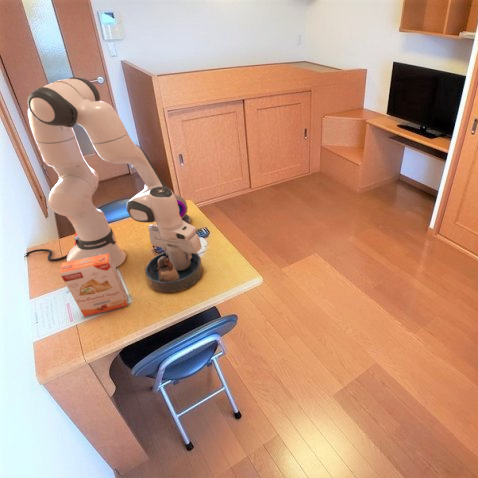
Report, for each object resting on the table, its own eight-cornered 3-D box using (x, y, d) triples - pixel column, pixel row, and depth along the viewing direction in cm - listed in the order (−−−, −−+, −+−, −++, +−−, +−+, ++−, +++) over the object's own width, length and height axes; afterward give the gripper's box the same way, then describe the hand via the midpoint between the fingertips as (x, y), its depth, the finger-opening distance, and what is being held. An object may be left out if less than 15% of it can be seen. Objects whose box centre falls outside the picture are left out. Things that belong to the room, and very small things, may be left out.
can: (185, 273, 139) (179, 249, 132) (168, 270, 140) (160, 246, 133) (194, 261, 145) (188, 237, 138) (178, 258, 146) (171, 235, 139)
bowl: (148, 299, 130) (144, 288, 126) (150, 264, 145) (146, 254, 142) (205, 286, 135) (202, 276, 132) (201, 255, 151) (198, 244, 147)
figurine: (170, 272, 140) (162, 249, 133) (184, 278, 138) (177, 254, 131) (156, 284, 135) (148, 260, 128) (170, 289, 133) (162, 265, 126)
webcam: (168, 233, 163) (160, 205, 154) (158, 221, 171) (149, 194, 162) (195, 223, 170) (188, 196, 161) (184, 212, 177) (177, 186, 169)
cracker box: (84, 318, 122) (58, 273, 109) (85, 306, 126) (61, 261, 114) (128, 306, 126) (108, 262, 114) (128, 295, 131) (109, 251, 118)
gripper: (141, 228, 131) (151, 257, 139) (190, 237, 127) (198, 266, 135) (152, 219, 136) (161, 247, 144) (199, 227, 132) (206, 256, 140)
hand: (179, 256), depth 140 cm, fingers closed on can, 7 cm apart
